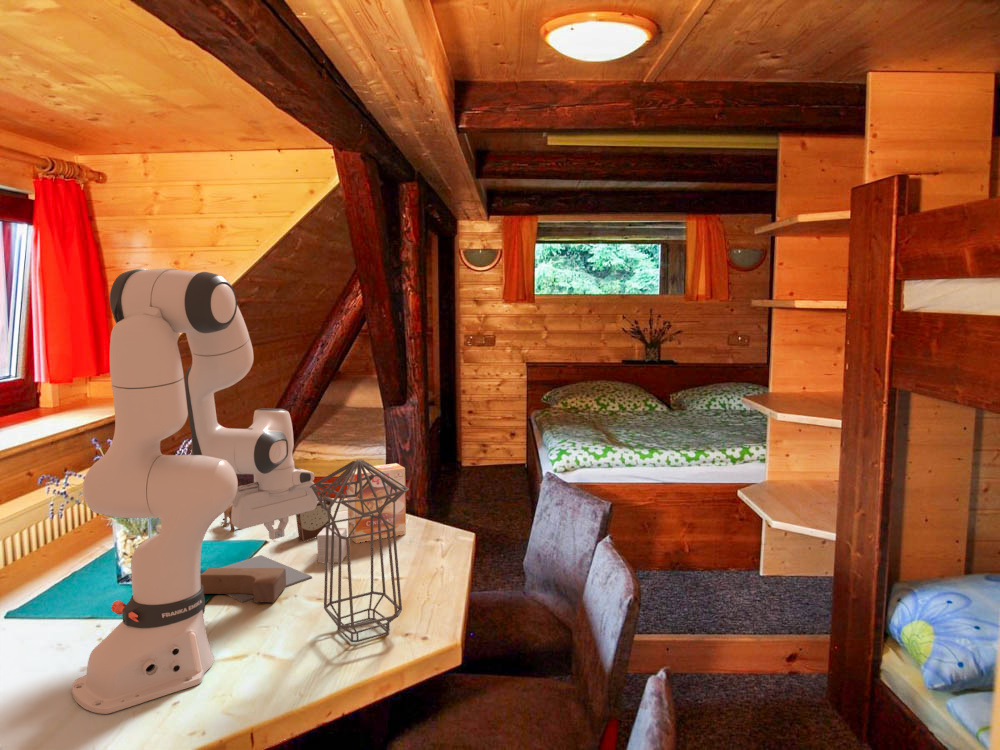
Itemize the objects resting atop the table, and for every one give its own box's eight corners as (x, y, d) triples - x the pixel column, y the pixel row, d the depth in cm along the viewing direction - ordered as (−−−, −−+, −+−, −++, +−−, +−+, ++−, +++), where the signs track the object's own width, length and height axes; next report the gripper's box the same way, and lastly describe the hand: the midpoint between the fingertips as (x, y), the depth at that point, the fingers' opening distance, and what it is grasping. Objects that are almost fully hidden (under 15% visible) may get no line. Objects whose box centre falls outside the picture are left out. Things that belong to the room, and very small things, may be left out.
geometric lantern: (414, 637, 139) (412, 462, 136) (337, 658, 131) (332, 473, 127) (383, 608, 153) (380, 448, 149) (311, 625, 144) (306, 457, 140)
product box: (347, 554, 184) (347, 527, 184) (341, 563, 178) (340, 535, 178) (324, 554, 185) (324, 527, 184) (317, 563, 179) (316, 534, 178)
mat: (242, 602, 155) (242, 600, 155) (193, 577, 169) (193, 575, 169) (311, 577, 169) (311, 576, 169) (261, 556, 183) (261, 555, 183)
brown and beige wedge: (319, 527, 206) (318, 494, 205) (333, 531, 203) (332, 497, 202) (284, 539, 197) (283, 504, 195) (298, 543, 193) (297, 507, 192)
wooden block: (273, 583, 154) (190, 583, 154) (274, 602, 154) (191, 603, 154) (286, 567, 163) (207, 567, 163) (286, 586, 163) (208, 586, 163)
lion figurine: (254, 530, 204) (252, 500, 203) (236, 535, 200) (234, 504, 199) (231, 519, 214) (229, 490, 213) (213, 523, 210) (212, 494, 209)
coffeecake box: (355, 544, 193) (354, 473, 190) (347, 536, 199) (345, 468, 197) (406, 534, 200) (405, 467, 198) (397, 527, 206) (396, 462, 204)
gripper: (239, 490, 150) (242, 553, 151) (320, 472, 165) (322, 529, 167) (224, 485, 154) (226, 546, 155) (304, 467, 169) (306, 523, 171)
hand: (276, 537), depth 161 cm, fingers closed
